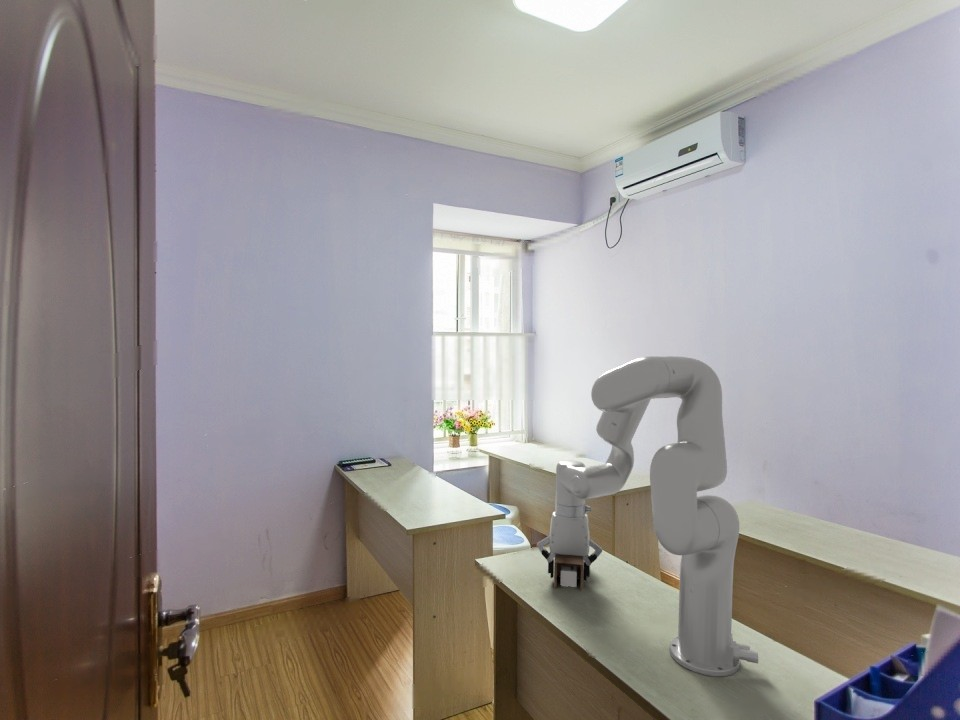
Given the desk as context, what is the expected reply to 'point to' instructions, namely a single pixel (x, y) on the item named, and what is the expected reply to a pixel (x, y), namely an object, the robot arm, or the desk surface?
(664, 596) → the desk surface
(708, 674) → the robot arm
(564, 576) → the cube
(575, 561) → the brown open box
